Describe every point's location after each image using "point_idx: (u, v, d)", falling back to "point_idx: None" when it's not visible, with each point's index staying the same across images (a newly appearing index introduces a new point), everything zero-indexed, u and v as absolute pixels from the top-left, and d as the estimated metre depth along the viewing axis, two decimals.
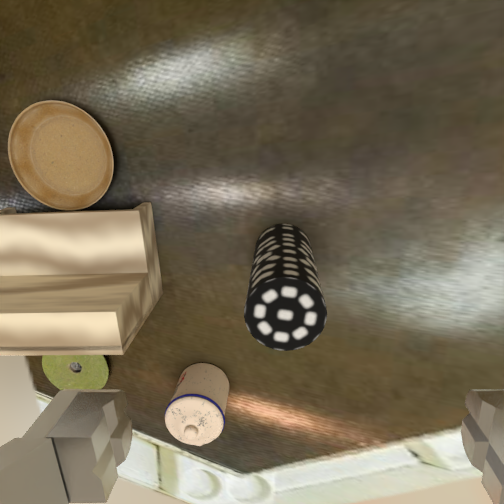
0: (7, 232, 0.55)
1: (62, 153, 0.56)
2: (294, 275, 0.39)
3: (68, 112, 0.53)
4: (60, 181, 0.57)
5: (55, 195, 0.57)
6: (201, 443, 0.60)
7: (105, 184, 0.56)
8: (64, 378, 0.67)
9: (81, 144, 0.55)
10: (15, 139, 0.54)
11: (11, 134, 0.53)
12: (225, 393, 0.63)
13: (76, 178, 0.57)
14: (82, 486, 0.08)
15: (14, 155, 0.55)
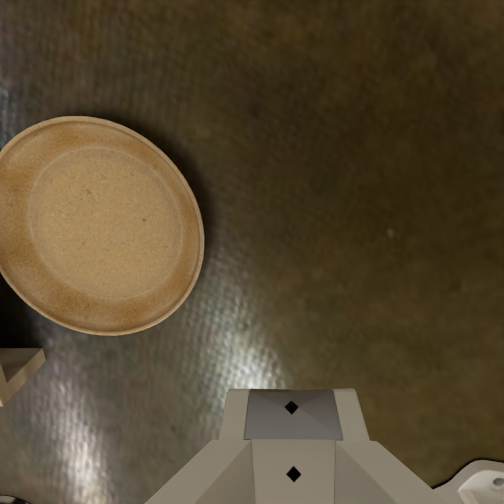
0: None
1: (109, 216, 0.27)
2: None
3: (188, 249, 0.27)
4: (52, 203, 0.27)
5: (19, 192, 0.27)
6: None
7: (58, 303, 0.29)
8: None
9: (131, 256, 0.28)
10: (121, 131, 0.24)
11: (128, 133, 0.24)
12: None
13: (64, 236, 0.28)
14: (272, 489, 0.08)
15: (84, 124, 0.24)
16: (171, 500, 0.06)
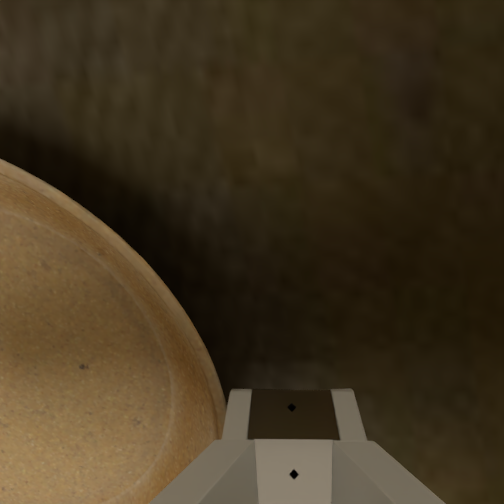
0: None
1: (1, 357, 0.12)
2: None
3: (188, 437, 0.11)
4: None
5: None
6: None
7: None
8: None
9: (60, 439, 0.12)
10: None
11: (4, 175, 0.08)
12: None
13: None
14: (275, 489, 0.08)
15: None
16: (175, 500, 0.06)
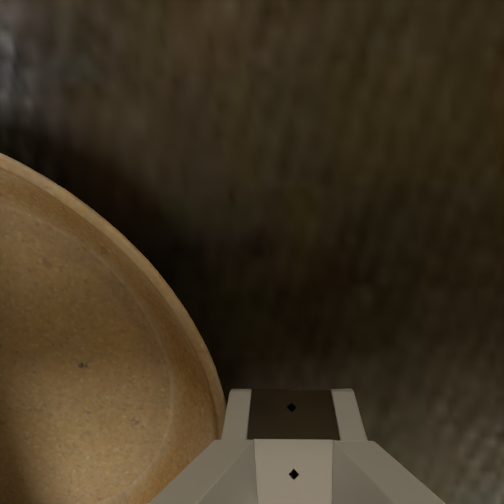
0: None
1: None
2: None
3: (186, 439, 0.11)
4: None
5: None
6: None
7: None
8: None
9: (57, 437, 0.12)
10: None
11: (8, 171, 0.08)
12: None
13: None
14: (275, 490, 0.08)
15: None
16: (174, 500, 0.06)
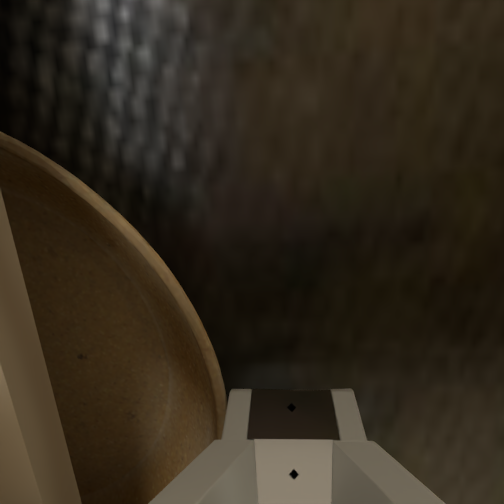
0: None
1: None
2: None
3: (182, 435, 0.11)
4: None
5: None
6: None
7: None
8: None
9: None
10: None
11: (24, 160, 0.08)
12: None
13: None
14: (275, 489, 0.08)
15: None
16: (174, 500, 0.06)
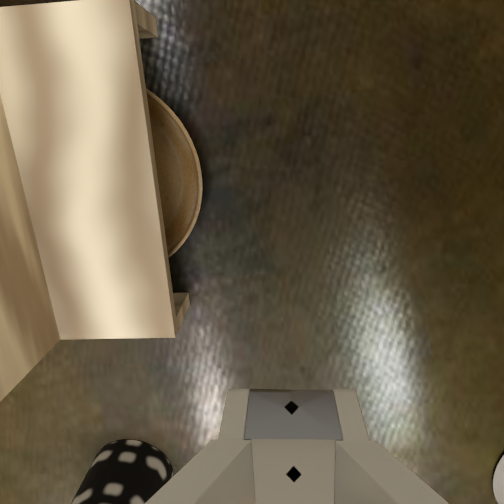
0: (96, 57, 0.23)
1: None
2: None
3: (186, 201, 0.31)
4: None
5: None
6: None
7: None
8: None
9: None
10: None
11: None
12: None
13: None
14: (272, 489, 0.08)
15: None
16: (171, 500, 0.06)
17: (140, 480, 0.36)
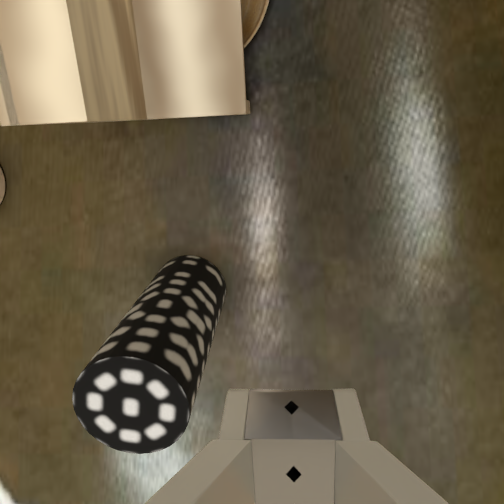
0: None
1: None
2: (191, 411, 0.28)
3: (254, 5, 0.36)
4: None
5: None
6: None
7: None
8: None
9: None
10: None
11: None
12: None
13: None
14: (273, 489, 0.08)
15: None
16: (171, 500, 0.06)
17: (203, 275, 0.41)
